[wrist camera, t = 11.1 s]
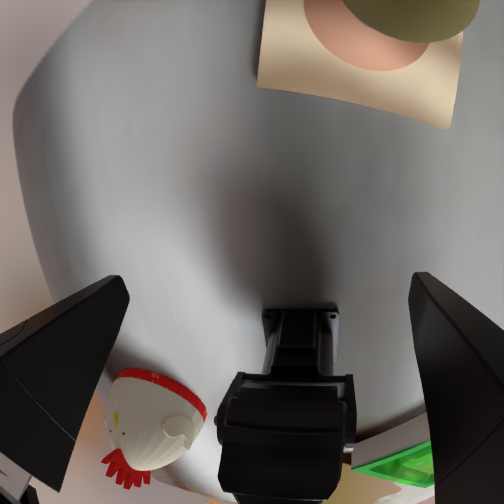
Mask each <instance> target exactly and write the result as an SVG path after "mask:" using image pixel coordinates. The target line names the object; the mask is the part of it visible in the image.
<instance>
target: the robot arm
mask: <svg viewBox="0 0 504 504" xmlns="http://www.w3.org/2000/svg"><path fill="white" fill-rule="evenodd" d="M129 301H130V297H129V293H128V291H127V288H126V286H125V283H124V281H123V279H122V277H121V276H119V275H109V276H107V277H105V278H103V279H101V280H99V281H97V282H95V283H93V284H91V285H90V286H88V287H86V288H84V289H82V290H80V291H78V292H76V293H74V294H73V295H71V296H69V297H67V298H65V299H63V300H61V301H59V302H58V303H56V304H54V305H52V306H50V307H48V308H47V309H45V310H43V311H41V312H39V313H38V314H36V315H34V316H32V317H30V318H29V319H27V320H25V321H23V322H21V323H20V324H18V325H16V326H14V327H12V328H11V329H9V330H7V331H5V332H3V333H1V334H0V504H39V501H38V497H37V493H36V489H35V488H33V487H32V486H31V485H29V482H30V480H31V478H32V476H33V477H35V478H36V479H38V480H39V481H41V482H42V483H44V484H45V485H47V486H48V487H50V488H52V489H53V490H55V491H57V492H58V493H59V492H60V490H61V487H62V483H63V480H64V477H65V473H66V470H67V467H68V464H69V461H70V457H71V454H72V451H73V449H74V446H75V443H76V442H75V441H76V439H77V436H78V433H79V431H80V428H81V425H82V422H83V420H84V417H85V414H86V411H87V409H88V406H89V404H90V401H91V399H92V396H93V394H94V391H95V388H96V386H97V384H98V381H99V379H100V376H101V374H102V371H103V369H104V367H105V364H106V362H107V360H108V357H109V355H110V353H111V350H112V348H113V346H114V343H115V341H116V339H117V336H118V333H119V330H120V327H121V324H122V321H123V319H124V316H125V313H126V310H127V307H128V304H129ZM408 304H409V311H410V318H411V325H412V333H413V341H414V349H415V354H416V359H417V364H418V368H419V373H420V378H421V383H422V388H423V394H424V400H425V405H426V412H427V418H428V425H429V432H430V440H431V449H432V459H433V470H434V484H435V504H504V330H503V329H501V328H500V327H499V326H498V325H497V324H495V323H494V322H493V321H492V320H490V319H489V318H488V317H487V316H485V315H484V314H483V313H482V312H480V311H479V310H478V309H476V308H475V307H474V306H473V305H471V304H470V303H469V302H467V301H466V300H465V299H464V298H462V297H461V296H460V295H458V294H457V293H456V292H454V291H453V290H452V289H450V288H449V287H447V286H446V285H445V284H443V283H442V282H441V281H439V280H438V279H437V278H435V277H434V276H432V275H431V274H430V273H428V272H415V273H414V274H413V276H412V281H411V286H410V291H409V297H408ZM267 314H268V315H270V316H267ZM332 314H335V315H334V316H332ZM262 320H263V327H264V333H265V340H266V346H267V351H266V355H265V360H264V365H263V370H262V374H249V373H245V372H238V373H237V375H236V377H235V379H234V380H233V381H232V383H231V385H230V387H229V389H228V391H227V393H226V395H225V397H224V399H223V401H222V402H221V404H220V406H219V408H218V411H217V415H216V416H215V418H214V424H215V425H216V426H217V438H218V441H219V444H220V445H222V454H221V460H220V466H219V471H218V480H219V483H220V485H221V488H222V490H223V491H224V492H228V493H232V494H233V495H234V497H235V499H236V501H237V502H238V504H321V503H322V501H326V500H328V498H329V497H330V496H331V495H332V493H333V492H334V490H335V489H336V487H337V484H338V483H339V481H340V478H341V470H342V462H343V453H352V451H353V448H354V444H355V436H356V423H357V411H356V400H355V391H354V382H353V374H345V376H333V362H334V361H335V360H336V354H337V341H338V327H339V311H338V310H336V309H265V310H264V311H263V313H262Z"/></svg>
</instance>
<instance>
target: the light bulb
mask: <svg viewBox="0 0 504 504" xmlns="http://www.w3.org/2000/svg"><path fill="white" fill-rule="evenodd" d="M342 1H343V2H344V4H345V5H346V7H347V8H348V9H349V10H350V11H351V12H352V13H353V14H354V15H355V17H356V18H357V19H358V20H359V21H360V22H361V23H362V24H363V25H365V26H367V27H369V28H372V29H374V30H376V31H378V32H380V33H382V34H384V35H387V36H390V37H393V38H395V39H399V40H403V41H408V42H413V43H432V42H437V41H443V40H446V39H449V38H451V37H453V36H456V35H457V34H459V33H460V32H462V31H463V30H464V29H465V28H466V27H467V26H468V25H469V24H470V23H471V22H472V20H473V19H474V17H475V15H476V12H477V10H478V8H479V2H480V0H342Z"/></svg>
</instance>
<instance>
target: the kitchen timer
mask: <svg viewBox="0 0 504 504" xmlns="http://www.w3.org/2000/svg"><path fill="white" fill-rule="evenodd" d="M206 416H207V411H206V407H205V405H204V404H203V403H202V401H201V400H200V399H199V398H198V397H197V396H196V395H195V394H194V393H193V392H192V391H190V390H189V389H187V388H186V387H184V386H183V385H181V384H180V383H178V382H176V381H174V380H172V379H170V378H168V377H166V376H164V375H161V374H158V373H155V372H152V371H149V370H143V369H138V368H129V369H125V370H122V371H120V373H119V374H118V376H117V378H116V380H115V381H114V383H113V385H112V387H111V390H110V393H109V397H108V403H107V410H106V414H105V416H104V423H105V425H106V429H107V434H108V438H109V441H110V444H111V447H112V449H113V452H111V453H110V454H108V455H107V456H106V457H105V458H104V459H103V460H102V461H101V463H104V464H107V463H109V462H111V463H110V465H109V467H108V470H107V473H106V476H108V477H112V476H113V475H114V474H115V473H116V472H117V471H118V473H117V478H116V483H117V484H119V485H121V484H122V483H123V481H124V479H125V481H124V488H125V489H128V490H129V489H130V487H131V486H132V484H133V482H134V486H136V487H140V486H141V481H142V477H143V480H144V483H145V484H150V470H153V469H157V468H160V467H163V466H165V465H167V464H169V463H171V462H173V461H174V460H176V459H177V458H178V457H180V456H181V455H182V454H183V453H184V452H185V451H186V450H189V449H190V447H191V445H192V442H193V441H194V440H195V438H196V437H197V436H198V434H199V432H200V430H201V428H202V426H203V424H204V422H205V419H206Z"/></svg>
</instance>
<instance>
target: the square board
mask: <svg viewBox="0 0 504 504" xmlns="http://www.w3.org/2000/svg"><path fill="white" fill-rule="evenodd" d="M462 40H463V31H462V32H460V33H459V34H457V35H456V36H453V37H451V38H449V39H446V40H443V41H437V42H432V43H413V42H408V41H403V40H399V39H395V38H393V37H390V36H387V35H384V34H382V33H380V32H378V31H376V30H374V29H372V28H369V27H367V26H365V25H363V24H362V23H361V22H360V21H359V20H358V19H357V18H356V17H355V15H354V14H353V13H352V12H351V11H350V10H349V9H348V8H347V7H346V5H345V4H344V2H343V1H342V0H266V6H265V15H264V24H263V32H262V41H261V50H260V59H259V68H258V77H257V86H256V87H260V88H269V89H277V90H285V91H292V92H299V93H305V94H311V95H317V96H323V97H328V98H333V99H338V100H343V101H348V102H352V103H357V104H361V105H365V106H369V107H373V108H377V109H381V110H385V111H389V112H392V113H396V114H399V115H403V116H406V117H410V118H413V119H416V120H419V121H422V122H425V123H428V124H431V125H434V126H437V127H440V128H443V129H446V130H449V129H450V124H451V119H452V114H453V109H454V103H455V97H456V91H457V84H458V77H459V70H460V61H461V52H462Z"/></svg>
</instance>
